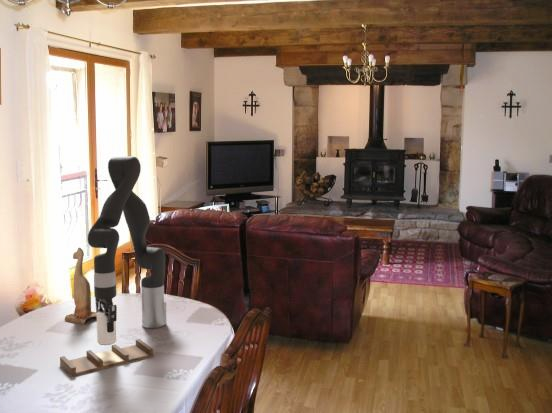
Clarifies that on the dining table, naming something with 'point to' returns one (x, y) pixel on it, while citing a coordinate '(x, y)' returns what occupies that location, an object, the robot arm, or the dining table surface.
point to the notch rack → (106, 358)
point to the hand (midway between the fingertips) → (106, 329)
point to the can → (104, 330)
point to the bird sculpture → (80, 293)
